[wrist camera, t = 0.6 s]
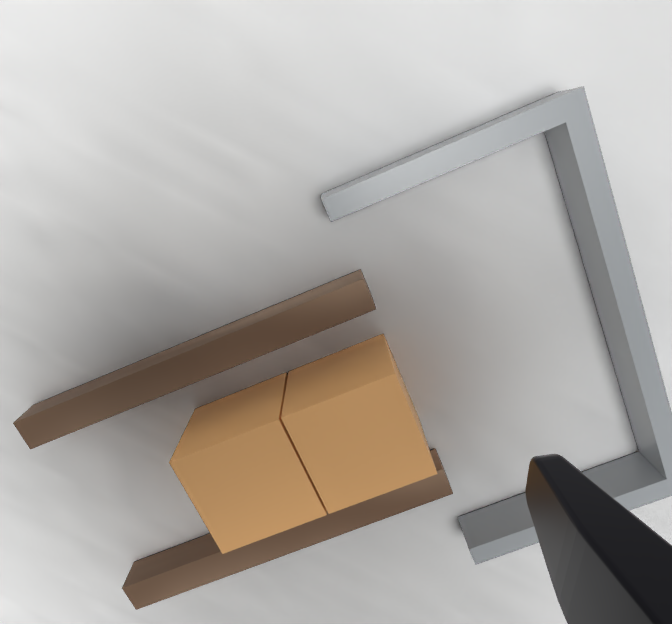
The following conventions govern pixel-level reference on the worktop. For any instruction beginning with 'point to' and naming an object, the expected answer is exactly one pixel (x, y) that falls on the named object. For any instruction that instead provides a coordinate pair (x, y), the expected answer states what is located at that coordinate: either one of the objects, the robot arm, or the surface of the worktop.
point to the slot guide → (197, 364)
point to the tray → (605, 281)
